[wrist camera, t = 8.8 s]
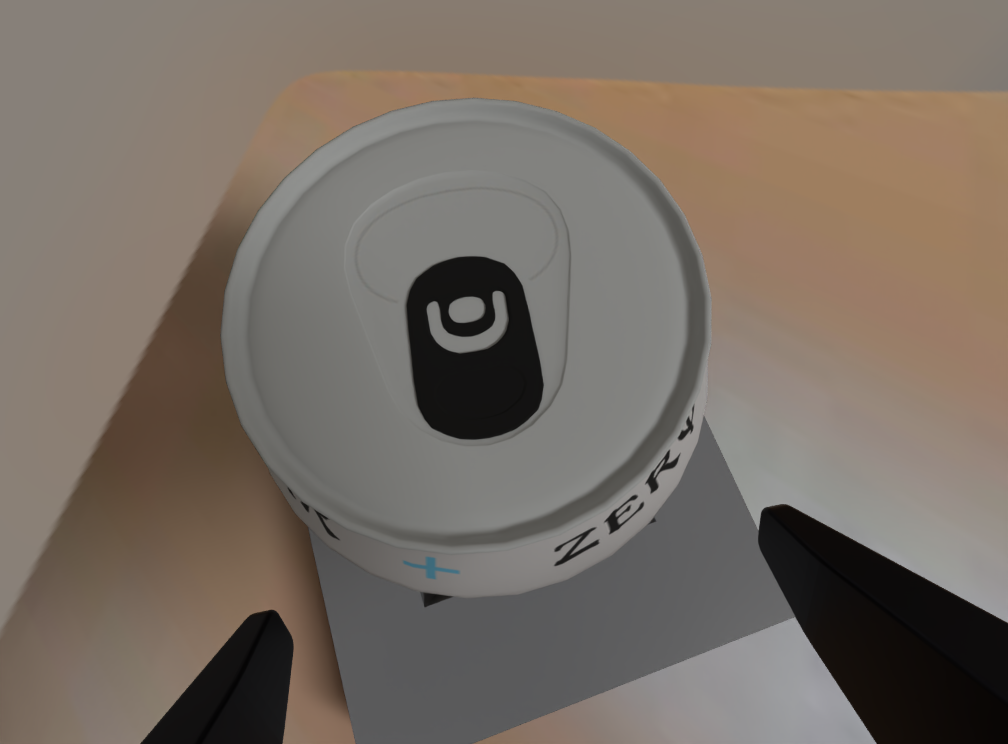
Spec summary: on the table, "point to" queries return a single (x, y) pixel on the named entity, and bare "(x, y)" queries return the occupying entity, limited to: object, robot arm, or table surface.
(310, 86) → the table surface
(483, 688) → the socket block
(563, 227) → the energy drink can
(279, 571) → the table surface
